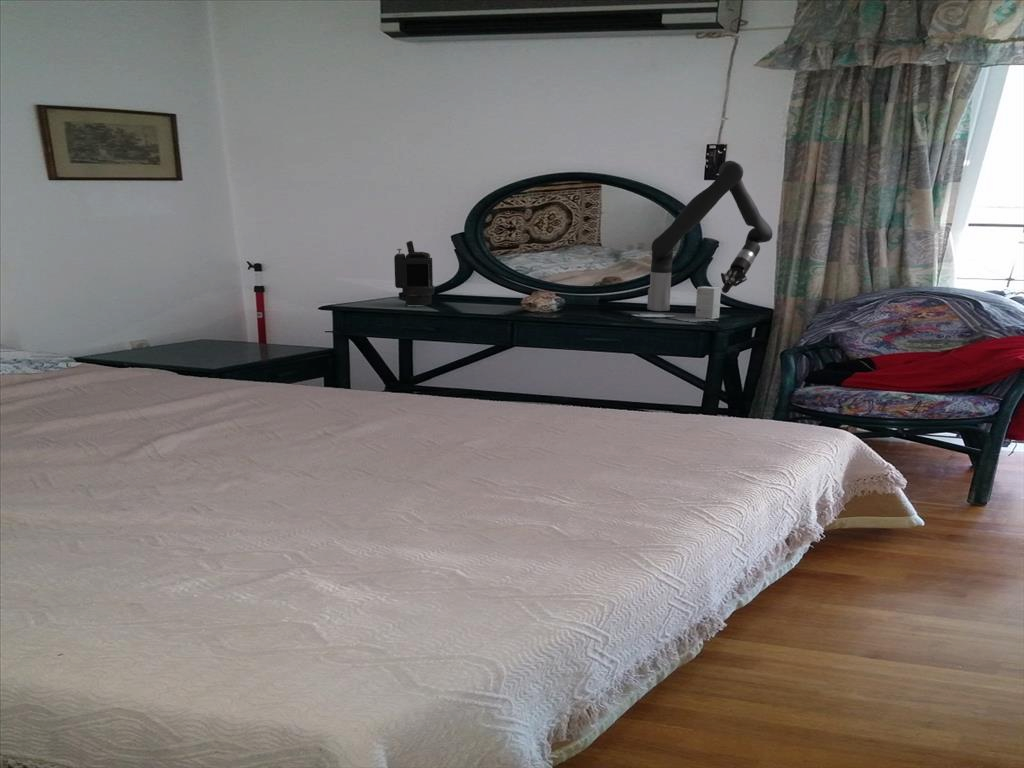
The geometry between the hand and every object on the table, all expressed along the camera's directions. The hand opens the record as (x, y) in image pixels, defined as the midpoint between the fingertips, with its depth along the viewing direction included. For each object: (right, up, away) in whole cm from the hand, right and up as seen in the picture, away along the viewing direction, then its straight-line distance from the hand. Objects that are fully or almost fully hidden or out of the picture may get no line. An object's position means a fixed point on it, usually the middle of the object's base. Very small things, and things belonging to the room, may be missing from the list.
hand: (724, 291), depth 321 cm
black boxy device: (-138, -3, +31) cm, 141 cm away
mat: (-17, -13, -11) cm, 24 cm away
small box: (-9, -12, -4) cm, 15 cm away
